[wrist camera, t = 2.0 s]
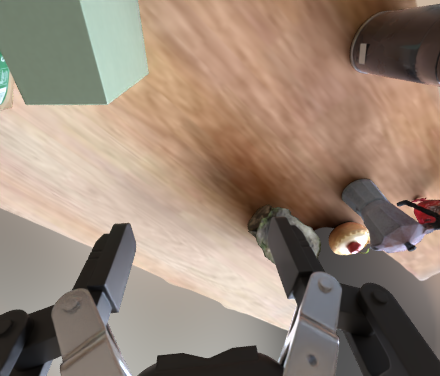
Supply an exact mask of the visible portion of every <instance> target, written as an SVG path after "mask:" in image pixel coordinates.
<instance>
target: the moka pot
mask: <svg viewBox="0 0 440 376" xmlns="http://www.w3.org/2000/svg"><path fill="white" fill-rule="evenodd" d="M342 200H343V201H344V202H345V203H346V204H347V205H348V206H349V207H351V208H352V209H353V210H354V211H355V212H356V213H357V214H358V215H359V216H361V218H362V219H363V221H364V224H365V226H366V227H367V229H368V231H369V237H370V242H371V247H370V249H371V250H376V251H381V250H384V251H386V252H387V253H393V252H399V251H405V250H408V251H413V250H415V249H416V247H415V246H414V245H415V244H417V243H419V242H420V241H421V240H422V238H423V237H424V235H425V234H429V233H431V232H433V231H434V230H439V229H440V214H438V213H436V212H434V211H431V210H429V209H426V208H424V207H422V206H419V205H417V204H415V203H412V202H410V201H408V200H404V201H401V202H398V203H397V206H402V205H408V206H410V207H414V208H415V209H417V210H418V211H421V212H423V213H425V214H427V215H429V216H432V217H434V218H435V219H436V220H435V222H433V223H424V224H419V223H418V222H417V221H415V220H414V219H413V218H411V217H410V216H408V215H407V214H405V213H404V212H403V211H401V210H400V209H398V208H397V207H396V206H394V205H393V204H391V203H390V202H389V201H388V200H387V199H386V198H385V196H384V195H383V194H382V193H381V191H380V190H379V189H378V187H377V186H376V185H375V184H374V183H373V182H372V181H371V180H369V179H360V180H357V181H354V182H352V183H350V184H349V185H348V186H347V187H346V188H345V189H344V190H343V193H342Z"/></svg>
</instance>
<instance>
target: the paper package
mask: <svg viewBox="0 0 440 376" xmlns="http://www.w3.org/2000/svg"><path fill="white" fill-rule="evenodd" d="M13 89H14V79H13V77H12V75H11V72H10V70H9V68H8V66H7V64H6V62H5V60H4V58H3V56H2V54H1V52H0V110H4V109H8V108H12V102H13Z"/></svg>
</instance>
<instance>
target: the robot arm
mask: <svg viewBox="0 0 440 376" xmlns="http://www.w3.org/2000/svg"><path fill="white" fill-rule="evenodd" d="M350 61H351V64H352V66H353V68H354V69H355V70H356V71H358V72H360V73H365V74H374V75H378V76H384V77H389V78H395V79H400V80H406V81H411V82H417V83H422V84H427V85H434V86H439V87H440V4H436V5H429V6H422V7H415V8H409V9H401V10H395V11H383V12H379V13H377V14H375V15H373V16H372V17H370V18H369V19H368V20H367V21H365V22H364V24H363V25H362V26H361V27H360V28H359V30H358V31H357V33H356V35H355V37H354V39H353V41H352V44H351V48H350ZM268 245H269V248H270V251H271V253H272V256H273V259H274V262H275V265H276V267H277V270H278V273H279V276H280V279H281V281H282V284H283V287H284V290H285V293H286V295H287V298H288V299H295V300H296V303H297V306H296V309H295V312H294V315H293V318H292V322H291V325H290V328H289V331H288V334H287V338H286V341H285V343H284V346H283V349H282V351H281V354H280V357H279V360H278V362H277V361H275V360H274V359H272V358H270V357H269V356H266V355H264V354H261V353H258V352H257V348H256V346H246V347H236V348H231V349H229V350H227V351H225V352H222V353H220V354H218V355H216V356H213V357H211V358H203V357H198V356H194V355H189V354H185V353H178V354H168V355H158V356H157V363H156V364H154V365H152V366H150V367H148V368H147V369H145V370H144V371H142V372H141V373H140V374H139V375H138V376H335V373H336V365H337V358H338V350H339V336H338V335H337V334H336V331H337V330H341V331H343V332H344V334H345V336H346V339H347V341H348V343H349V345H350V347H351V350H352V352H353V354H354V356H355V358H356V361H357V363H358V365H359V367H360V369H361V372H362V374H363V376H440V361H439V360H438V358H437V357H436V355H435V354H434V353H433V351H432V350H431V348H430V347H429V346H428V344H427V343H426V341H425V340H424V339H423V337H422V336H421V334H420V333H419V332H418V330H417V329H416V327H415V326H414V324H413V323H412V322H411V320H410V319H409V317H408V316H407V315H406V313H405V312H404V311H403V309H402V308H401V306H400V305H399V304H398V302H397V301H396V299H395V298H394V297H393V295H392V294H391V293H390V292H389V291H388V290H386V289H385V288H383V287H381V286H380V285H377V284H374V283H366V284H364V285H363V286H362V287H361V288H357V287H353V286H348V285H344V284H341V283H339V282H338V281H337V280H336V279H335V278H334V277H333V276H331V275H330V274H328V273H326V272H325V271H324V269H323V268H322V266H321V264H320V262H319V260H318V259H317V257H316V255H315V253H314V251H313V250H312V248H311V247H310V244H309V242H308V241H307V239H306V237H305V235H304V234H303V232H302V231H301V230H300V229H299V228H298V227H297V226H296V225H290V223H289V221H288V219H287V218H286V217H272V219H271V223H270V228H269V232H268ZM135 252H136V241H135V238H134V234H133V231H132V228H131V225H130V223H121V224H114V225H113V227H112V229H111V231H110V234H103V235H102V236H101V237H100V238H99V239H98V240H97V241H96V243H95V245H94V247H93V249H92V252H91V253H90V255H89V257H88V260H87V261H86V263H85V265H84V267H83V269H82V271H81V273H80V276H79V277H78V279H77V281H76V283H75V285H74V287H73V289H72V291H70V292H68V293H66V294H64V295H63V296H62V297H61V298H60V299H59V300H58V301H57V302H56V303H55V305H52V306H50V307H47V308H44V309H42V310H39V311H36V312H33V313H31V314H27V313H26V312H24V311H23V310H12V311H9V312H6V313H4V314H2V315H0V376H47V373H48V370H49V368H50V365H51V363H52V360H53V359H55V358H58V357H60V356H62V359H63V363H62V364H61V365H60V373H61V376H132V374H131V372H130V370H129V368H128V366H127V364H126V362H125V360H124V358H123V356H122V354H121V351H120V349H119V347H118V345H117V342H116V340H115V338H114V335H113V333H112V331H111V329H110V326H109V324H108V319H109V316H110V313H117V312H119V308H120V305H121V302H122V298H123V294H124V291H125V288H126V284H127V280H128V277H129V273H130V270H131V266H132V263H133V259H134V256H135Z"/></svg>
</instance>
